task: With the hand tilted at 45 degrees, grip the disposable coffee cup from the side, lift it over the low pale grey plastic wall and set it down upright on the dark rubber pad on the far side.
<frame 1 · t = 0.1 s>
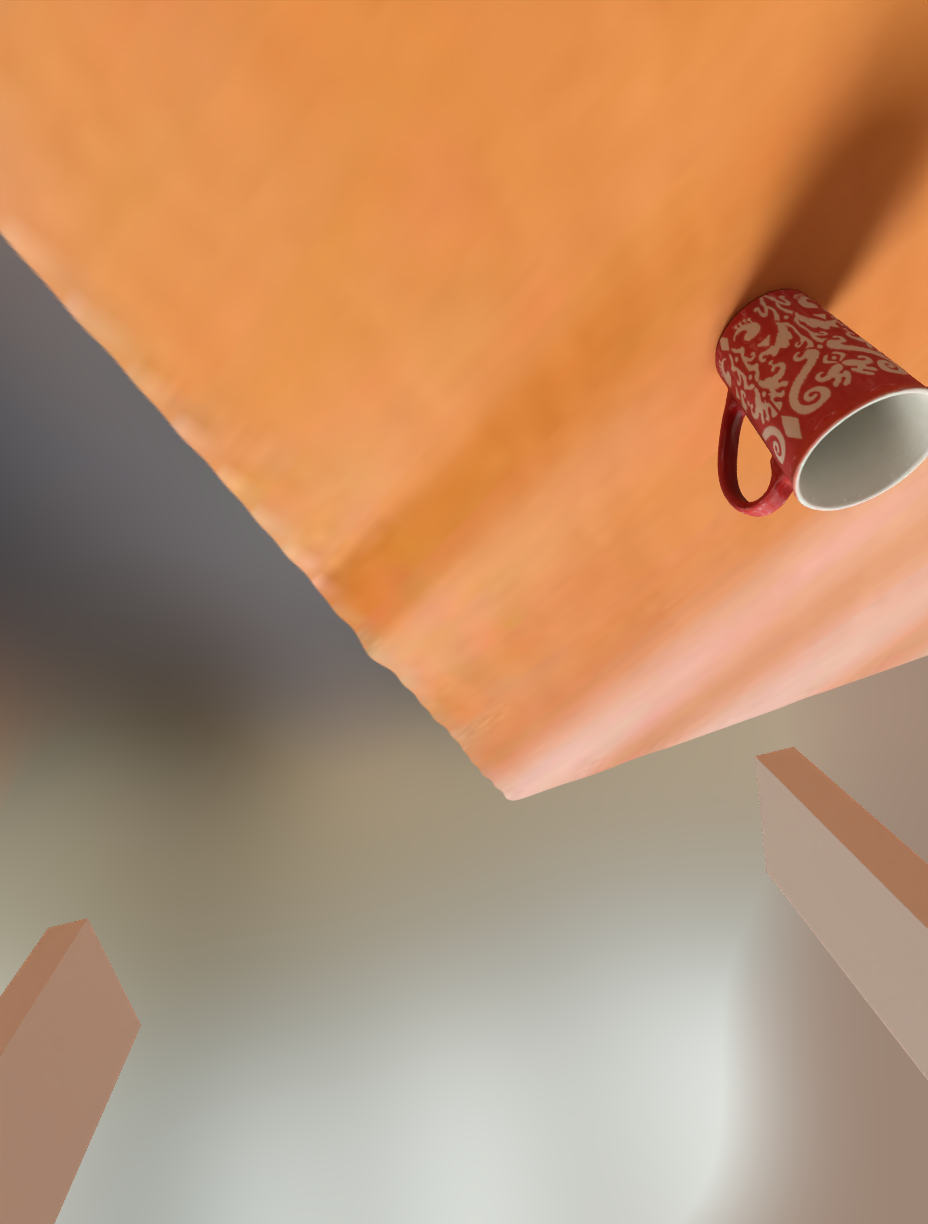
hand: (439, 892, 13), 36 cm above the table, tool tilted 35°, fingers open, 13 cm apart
mug: (741, 355, 48), on the table
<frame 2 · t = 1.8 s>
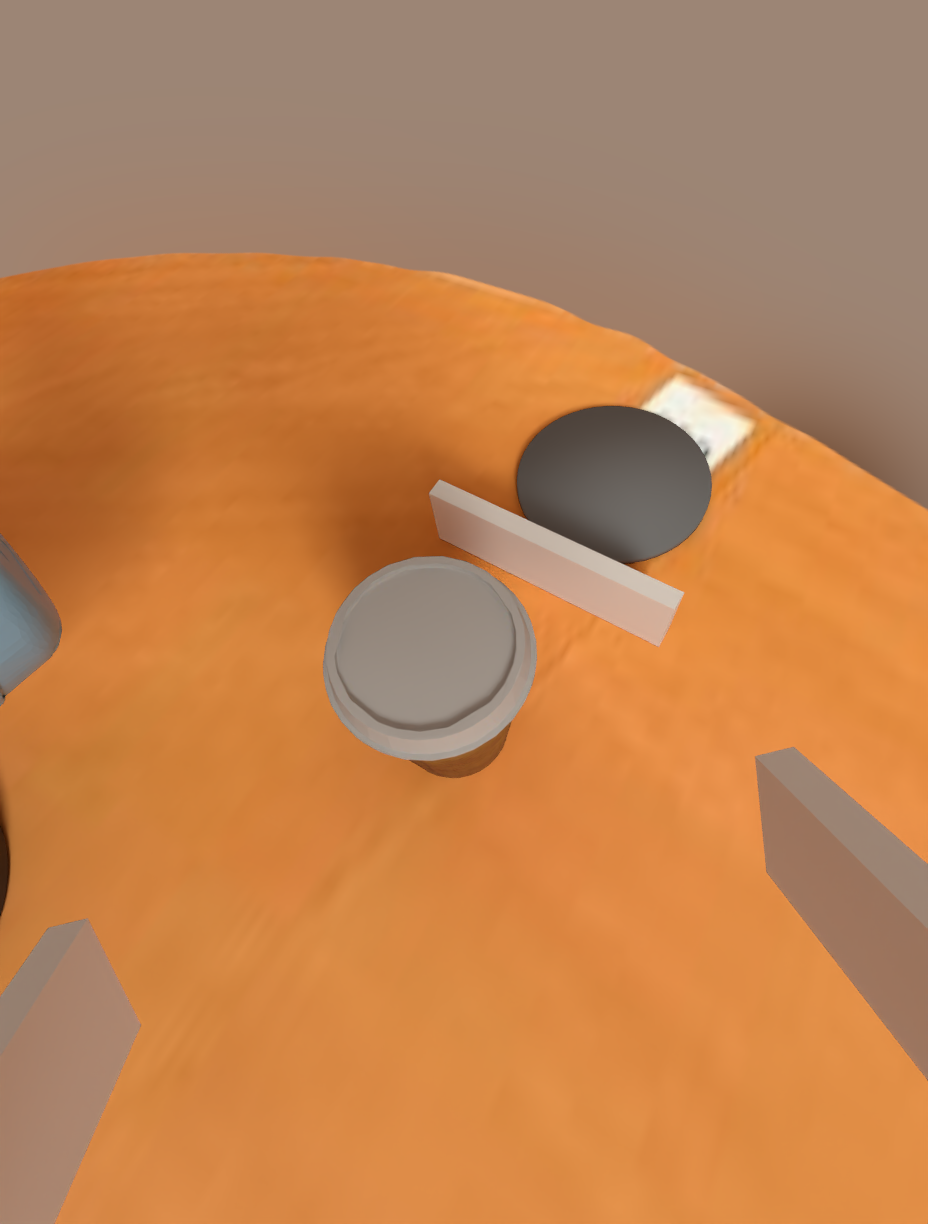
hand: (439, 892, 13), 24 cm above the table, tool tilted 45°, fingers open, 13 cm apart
low wall: (547, 582, 42), on the table
disposable coffee cup: (455, 725, 39), on the table
rubber pad: (611, 482, 45), on the table
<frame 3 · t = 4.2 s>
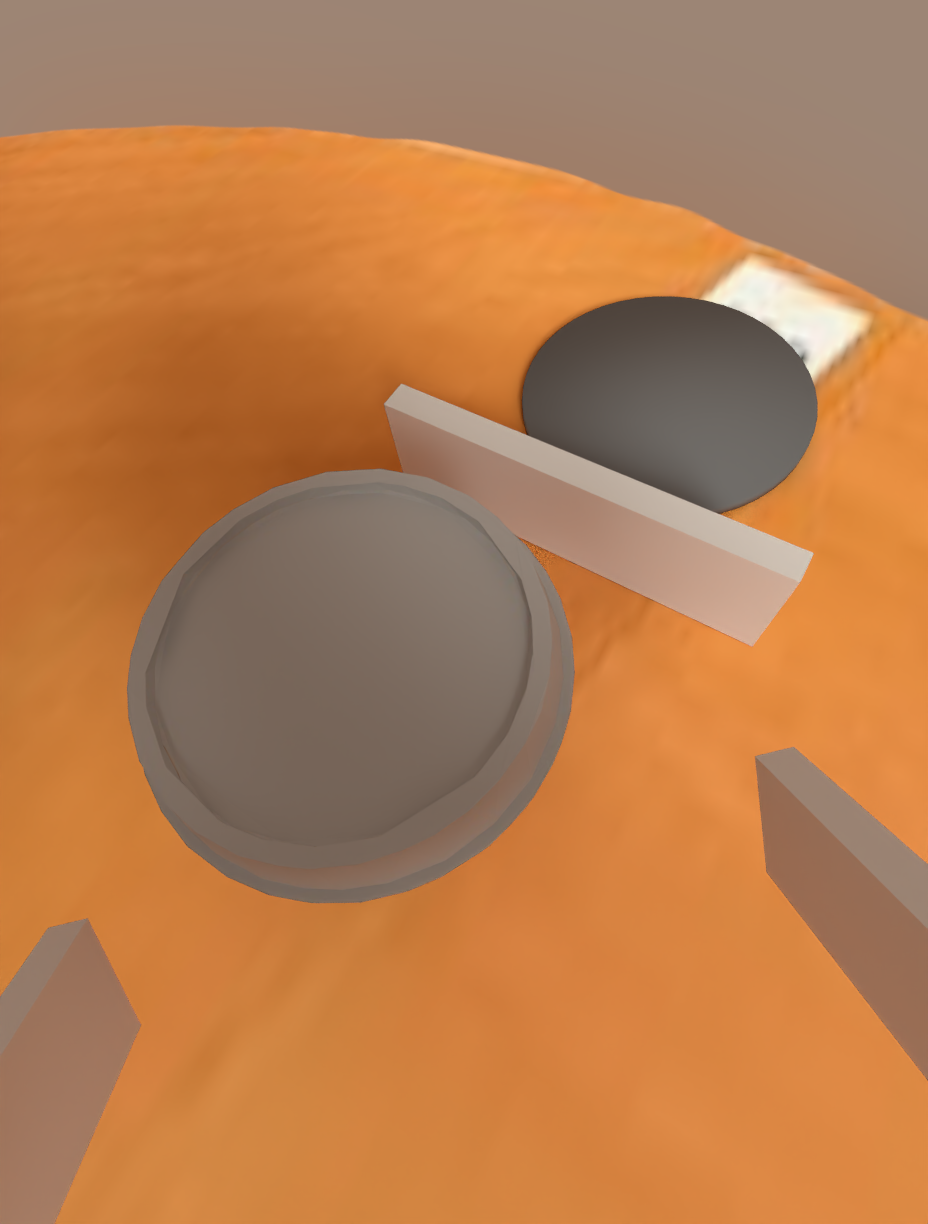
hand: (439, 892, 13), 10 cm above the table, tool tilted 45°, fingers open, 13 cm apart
low wall: (570, 547, 27), on the table
disposable coffee cup: (426, 775, 24), on the table
rubber pad: (663, 402, 30), on the table
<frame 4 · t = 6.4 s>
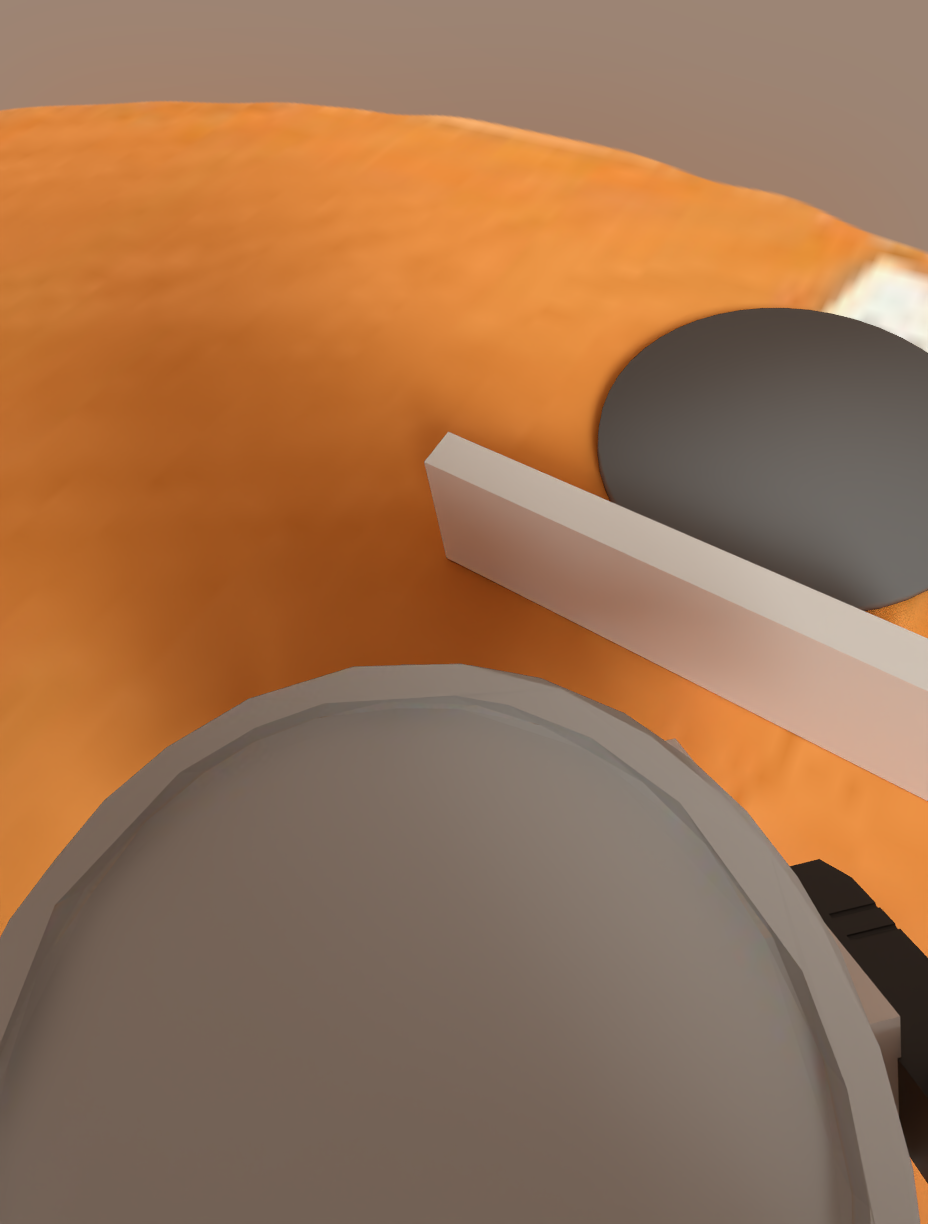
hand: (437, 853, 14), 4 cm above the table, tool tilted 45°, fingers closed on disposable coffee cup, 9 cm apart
low wall: (675, 653, 20), on the table
disposable coffee cup: (485, 1005, 16), on the table, touching gripper
rubber pad: (786, 448, 23), on the table
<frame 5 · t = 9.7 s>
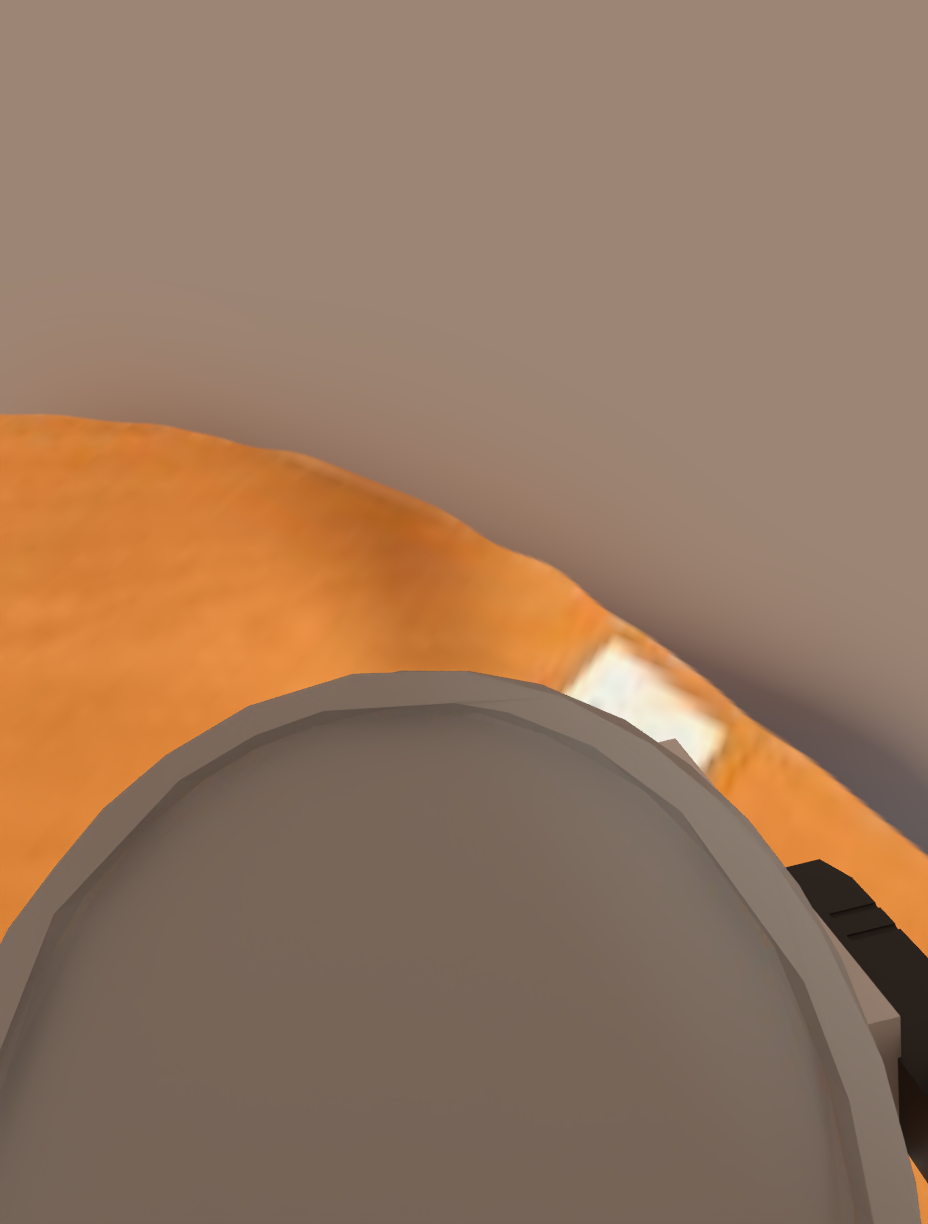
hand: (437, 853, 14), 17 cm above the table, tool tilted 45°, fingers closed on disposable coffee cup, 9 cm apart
disposable coffee cup: (485, 1009, 16), point 12 cm above the table, touching gripper
when the fingers open (6 cm above the table, at t = 13.2 s): disposable coffee cup drops 1 cm, resting on rubber pad.
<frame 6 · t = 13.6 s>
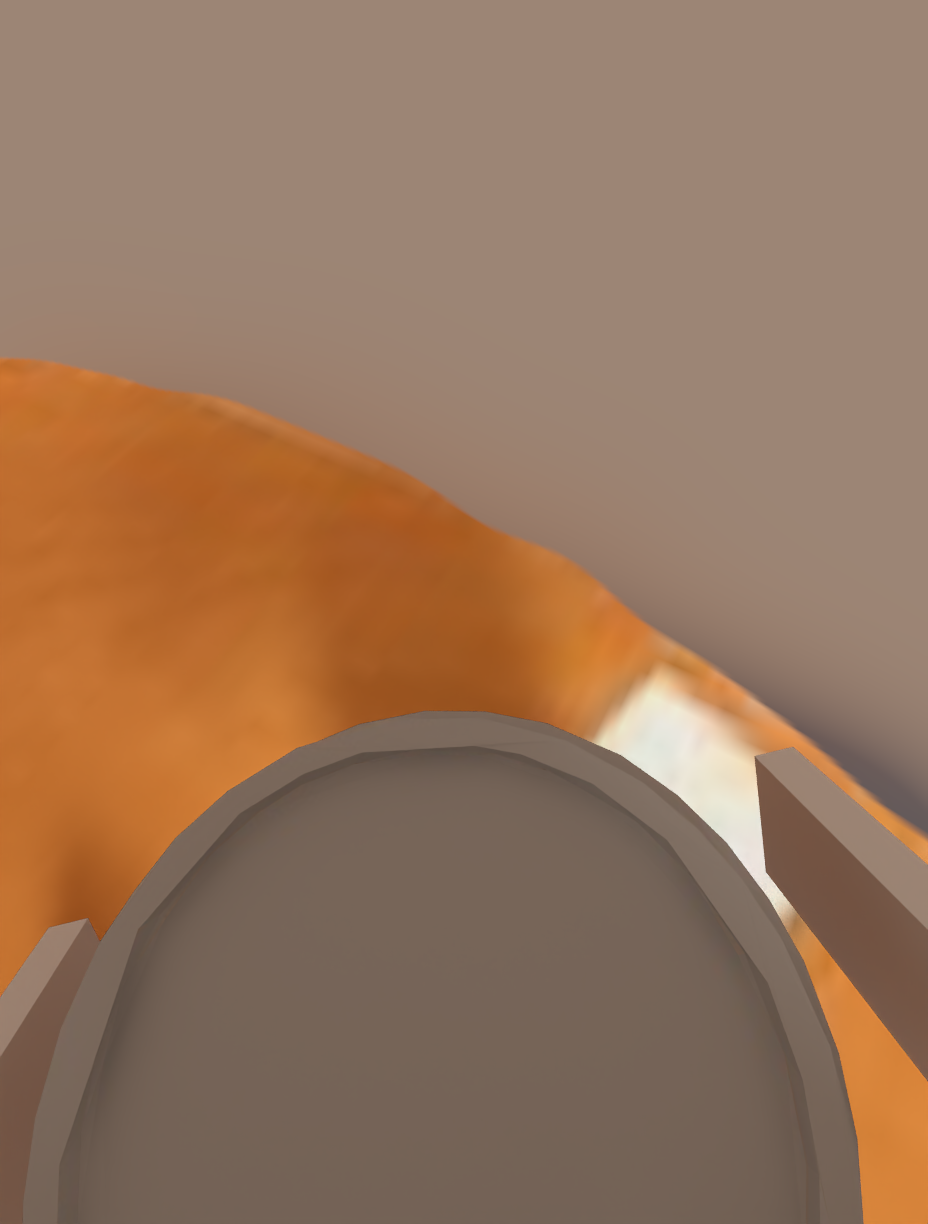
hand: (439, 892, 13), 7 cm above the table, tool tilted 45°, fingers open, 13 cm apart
disposable coffee cup: (494, 1008, 18), resting on rubber pad
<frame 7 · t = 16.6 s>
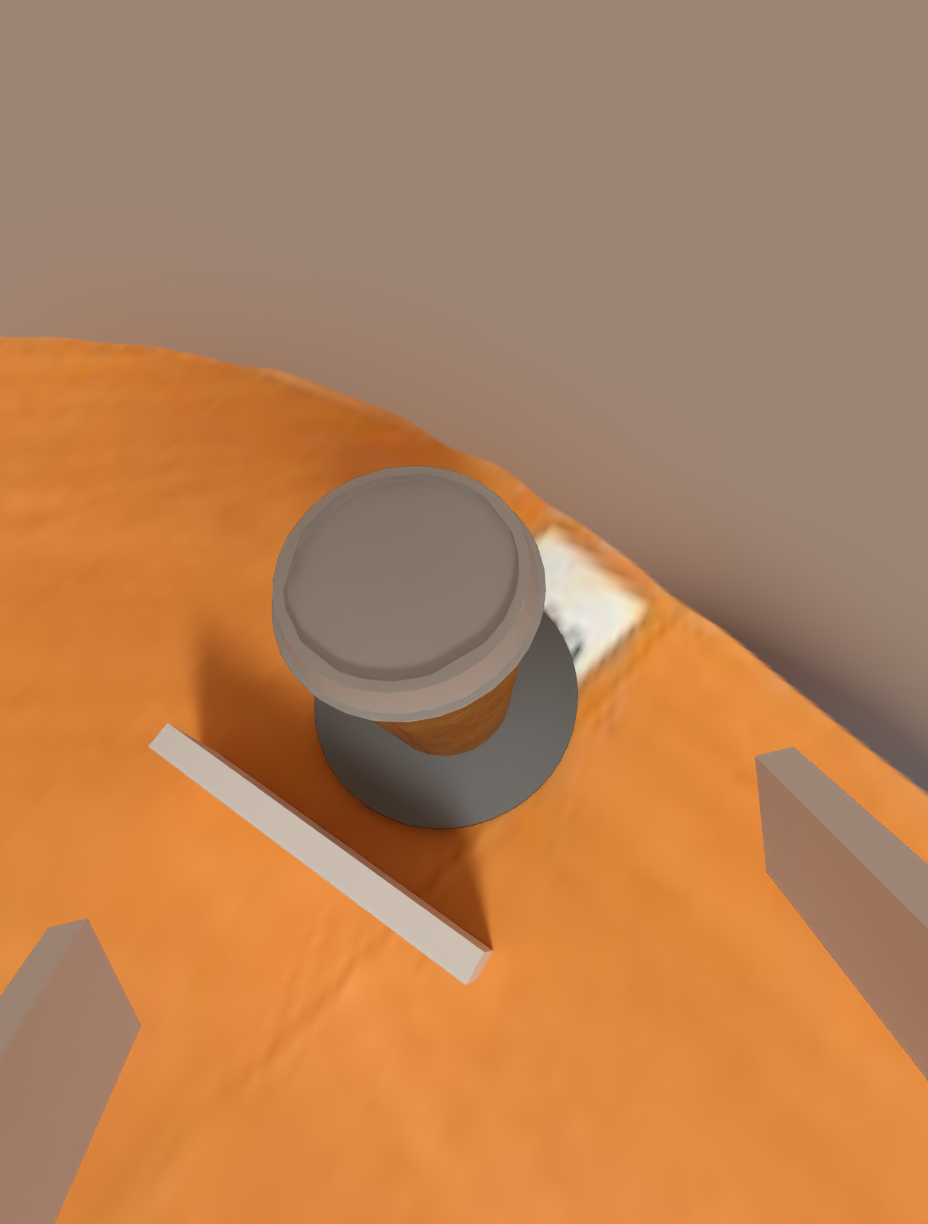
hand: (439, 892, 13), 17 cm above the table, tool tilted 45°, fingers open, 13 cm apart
low wall: (336, 855, 30), on the table
disposable coffee cup: (446, 694, 32), resting on rubber pad
rubber pad: (445, 693, 33), on the table
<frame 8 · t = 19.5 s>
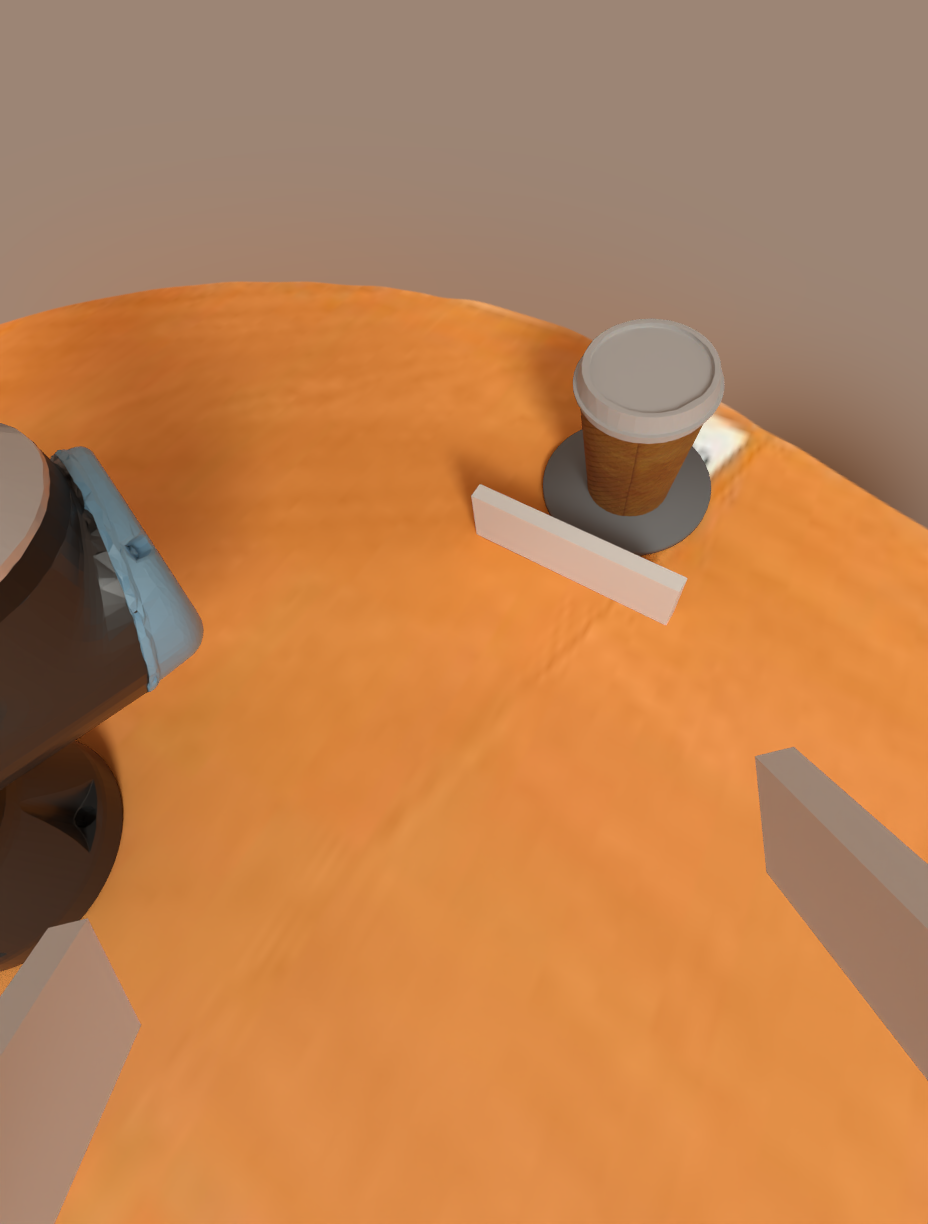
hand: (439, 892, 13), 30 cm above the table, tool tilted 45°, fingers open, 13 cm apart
low wall: (570, 571, 49), on the table
disposable coffee cup: (627, 485, 52), resting on rubber pad
rubber pad: (624, 486, 52), on the table
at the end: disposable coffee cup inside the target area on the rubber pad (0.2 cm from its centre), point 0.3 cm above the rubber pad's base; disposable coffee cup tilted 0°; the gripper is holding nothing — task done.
